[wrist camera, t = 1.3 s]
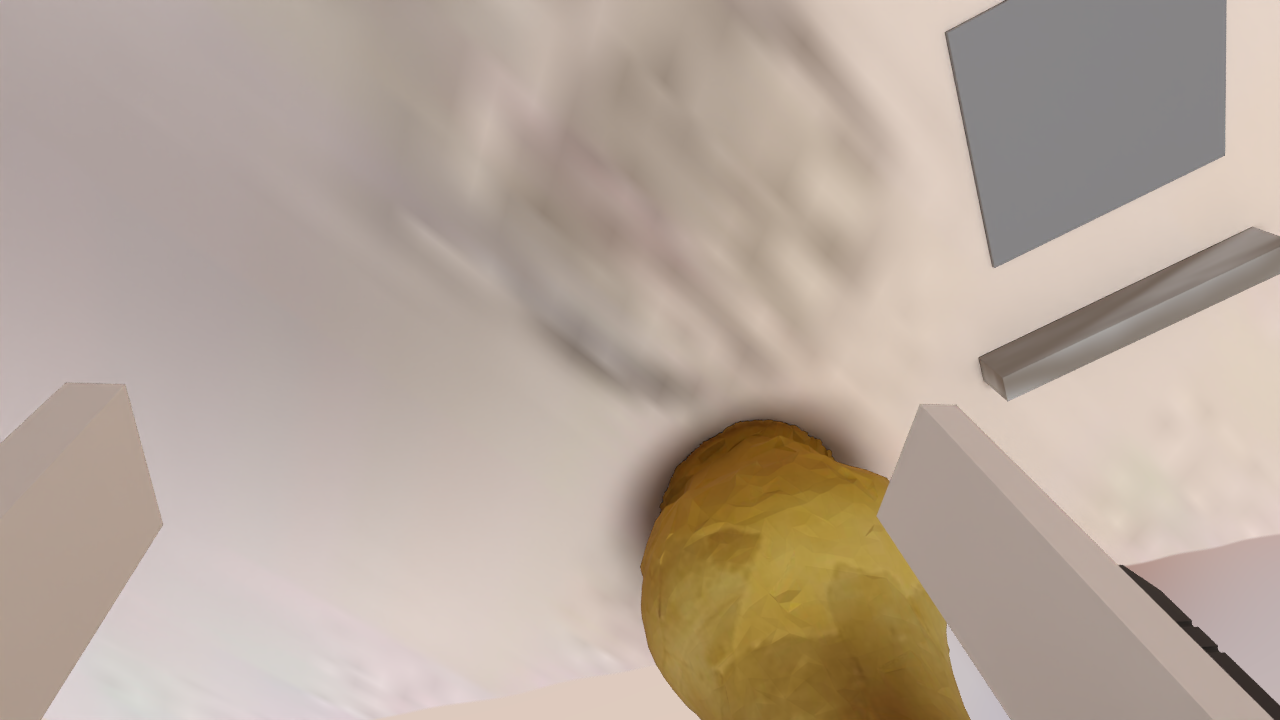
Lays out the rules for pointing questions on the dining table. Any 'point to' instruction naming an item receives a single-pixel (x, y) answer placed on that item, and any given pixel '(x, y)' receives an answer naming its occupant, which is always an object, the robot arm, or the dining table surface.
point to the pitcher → (788, 589)
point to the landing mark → (1085, 107)
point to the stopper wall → (1133, 313)
